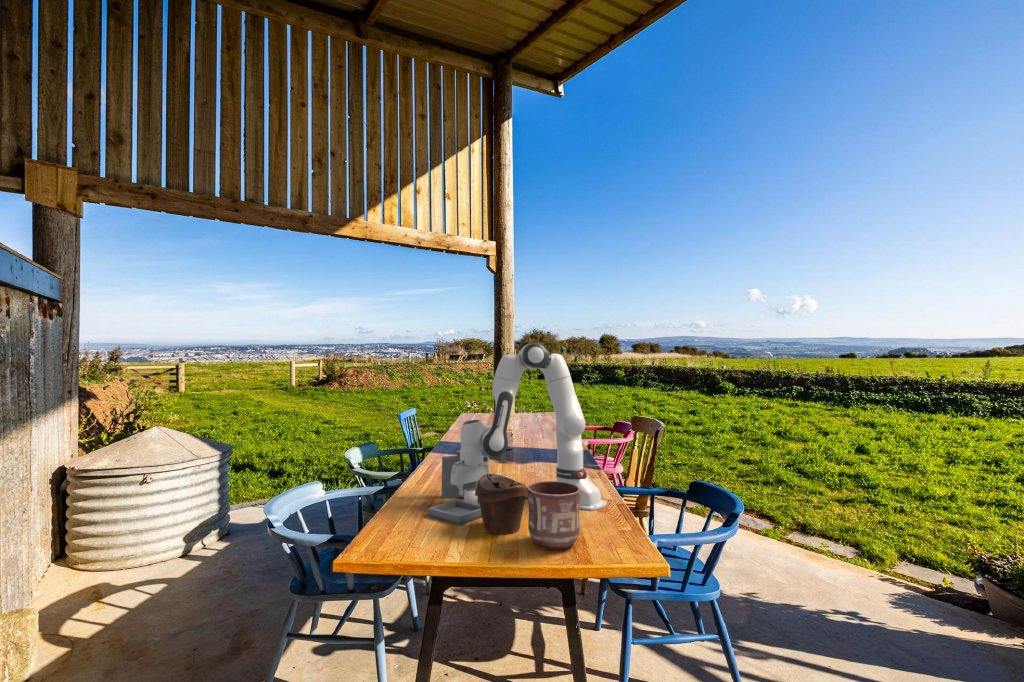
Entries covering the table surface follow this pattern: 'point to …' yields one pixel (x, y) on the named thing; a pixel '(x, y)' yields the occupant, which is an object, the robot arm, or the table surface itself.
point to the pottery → (554, 514)
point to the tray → (456, 512)
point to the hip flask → (447, 488)
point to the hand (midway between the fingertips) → (469, 492)
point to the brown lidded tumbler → (501, 503)
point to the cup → (470, 495)
